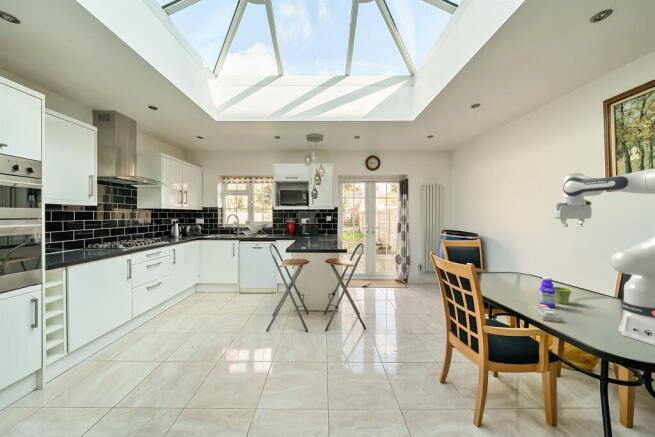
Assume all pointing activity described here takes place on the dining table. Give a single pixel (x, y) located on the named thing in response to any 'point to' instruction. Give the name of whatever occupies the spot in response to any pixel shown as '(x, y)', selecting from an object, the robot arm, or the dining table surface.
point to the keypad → (546, 317)
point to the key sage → (549, 313)
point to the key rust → (541, 306)
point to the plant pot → (562, 295)
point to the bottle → (547, 292)
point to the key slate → (545, 309)
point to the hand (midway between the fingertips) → (572, 226)
